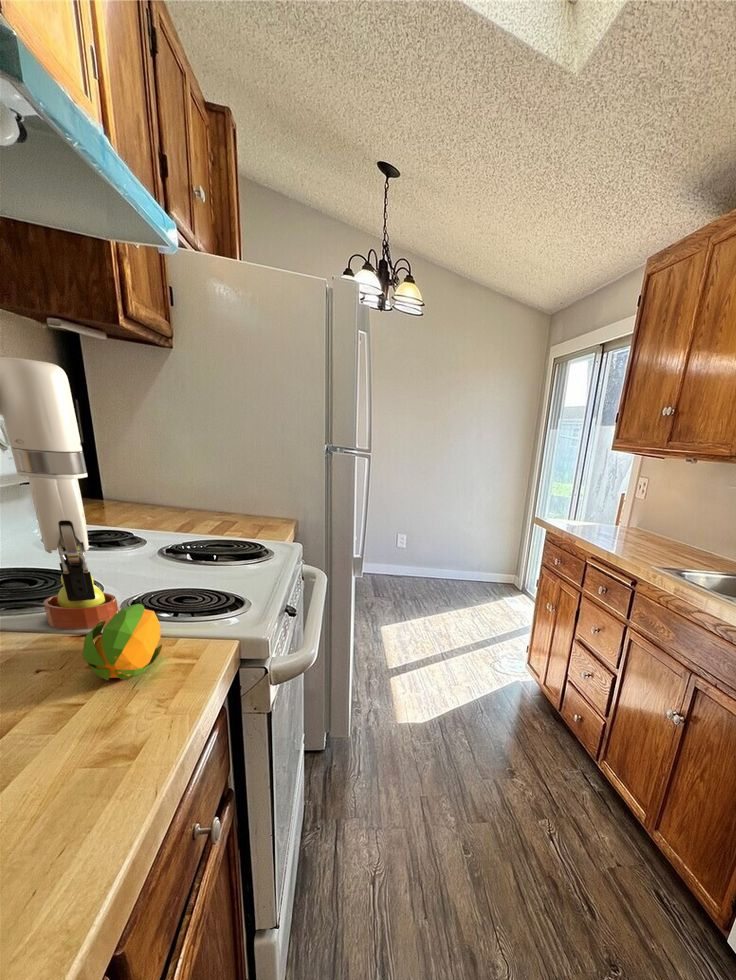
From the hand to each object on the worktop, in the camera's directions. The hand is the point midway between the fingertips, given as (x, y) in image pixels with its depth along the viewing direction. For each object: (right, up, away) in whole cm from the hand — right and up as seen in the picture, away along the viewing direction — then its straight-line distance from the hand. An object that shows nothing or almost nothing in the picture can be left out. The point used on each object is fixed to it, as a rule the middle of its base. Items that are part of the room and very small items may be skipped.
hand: (80, 592), depth 82 cm
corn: (+12, -11, -6) cm, 17 cm away
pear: (0, -3, +2) cm, 4 cm away
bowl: (-1, -5, +2) cm, 6 cm away
